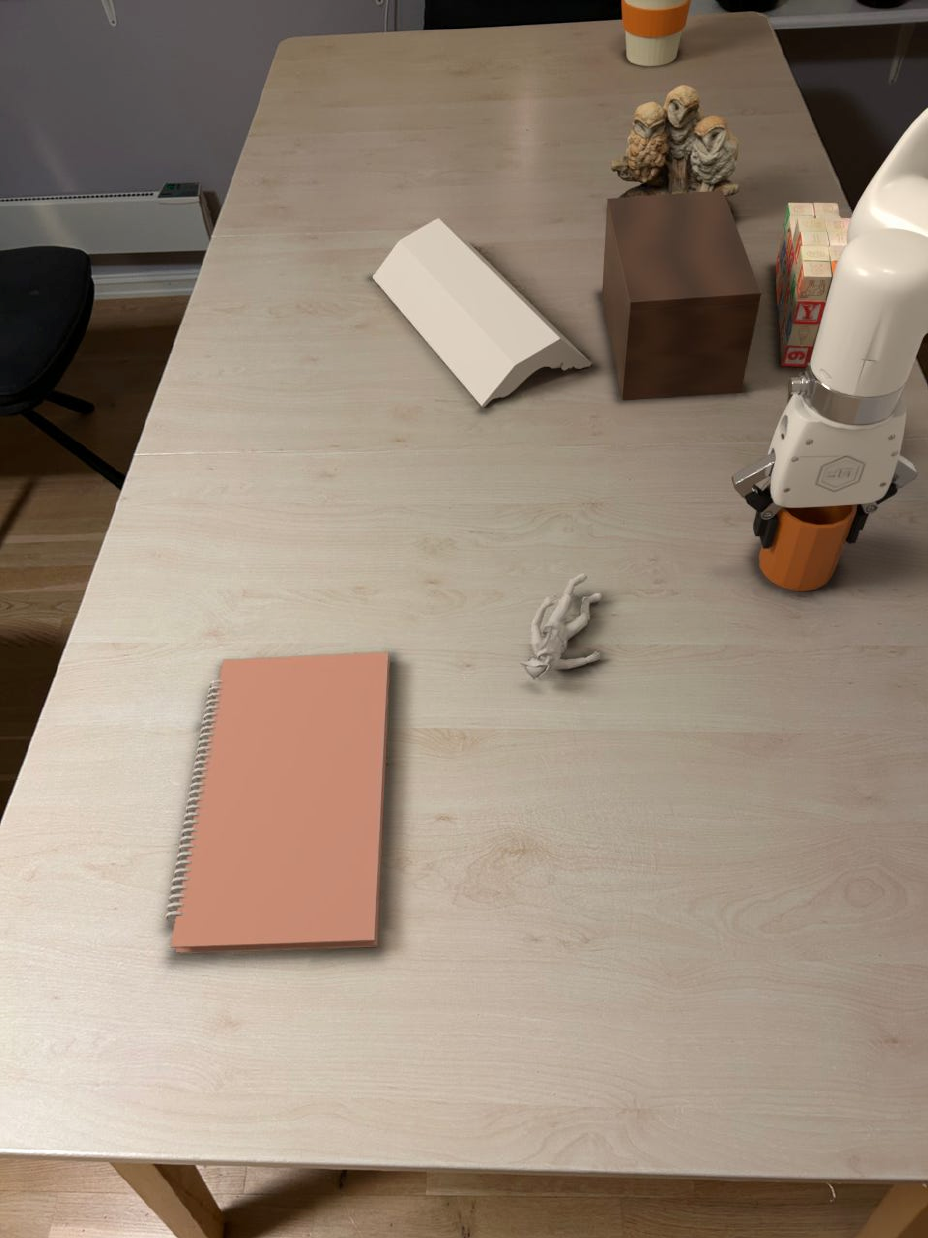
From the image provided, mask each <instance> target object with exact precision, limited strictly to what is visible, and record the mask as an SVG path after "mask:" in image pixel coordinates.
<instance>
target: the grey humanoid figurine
mask: <svg viewBox="0 0 928 1238" xmlns="http://www.w3.org/2000/svg"><path fill="white" fill-rule="evenodd" d="M587 578H588V576H587V574H586V573H583V572H582V573H579V574H578V575H577V576H576V577H574V578H570V579H569V580H568V582H567V586H566V588H565V589H564V591H563V594H562V596H561V598H560V599H559V600H558V604H557V605H556V607H555V608H554V610H553V611H552V614H551V615H550V617H549V618H548V619H549V620H548V621H547V622H546V623H545V625H544V628H543V630H541V626H542V623H543V619H544V617H545V613H546V611H547V609H548V608H550V607H552V606H554V605H555V602H554V601H555V600H556V599H557V596H556V595H555V594H549V595H548V596H547V597H545V599H544V601H543V602H542V603H541V605H540V606H538V609H537V611H536V613H535V614H534V617H533V619H532V621H531V624H530V647H531V649H532V651H533V652H534V657H532V658H531V659H530V660H527V661H519V664H520V665H521V667H523V668H524V670H525V672H526V673H527V674H528V675H529V676H530V677H531V678H532V679H533V681H539V680H540V678H541V676H543V675H544V674H546V672H547V671H548V669H550V670H569V669H573V668H579V667H581V666H585V665H586V664H589V663H593V662H596V661H598V660H599V659H600V658H601V657H602V656H601V653H600V652H598V651H597V650H596V651H594V652H593V653H592V654H590V655H588V656H587V657H577V658H567V659H564V658H561V657H562V654H563V653H564V652H565V651H566V649H567V647H568V641H569V640H570V639H572V638H573V637H574V636H575V635H577V634H578V633H580V631H581V630H582V629H584V628H585V627H586V626H587V625H588V622H589V621H590V619H591V615H590V605H591V604H593V603H596V602H599V601H600V600H601V599H602V598H603V596H602V594H601V592H595V593H593V594H591V595H590V596H587V595H586V596H583V597H582V598H581V605H580V609H579V613H578V616H575V617H574V618H573V619H572V620H570V621H567V617H568V615H569V612H570V610H571V608H572V604H573V598H574V596H573V595H574V590H575V587H576V586H578V585H580V584H582V583H584V582H585V581H586V580H587ZM566 621H567V622H566Z"/></svg>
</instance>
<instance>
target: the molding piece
mask: <svg viewBox="0 0 928 1238" xmlns="http://www.w3.org/2000/svg"><path fill="white" fill-rule="evenodd" d="M372 279H373V280H374V281H375V282H376V284H377V285H378V286H379V287H380V288H381V290H382V291H383V292H384V293H385V294H386V295H387V297H388V298H389V299H390V300H391V302H392V303H393V304H394V305H395V306H396V307H397V308H398V309H399V311H400V312H401V313H402V315H403V316H404V317H405V318H406V319H407V320H408V321H409V323H410V324H411V325H412V326H413V328H415V330H416V331H417V332H418V333H419V334H420V335H421V337H422V338H423V339H424V340H425V342H426V343H427V344H428V345H429V347H431V348H432V349H433V351H434V352H435V353H436V354H437V356H439V358H440V359H441V360H442V361H443V362H444V364H445V365H446V366H447V367H448V369H449V370H450V371H451V372H452V373H453V374H454V376H455V377H456V378H457V379H458V381H460V383H461V384H462V385H463V386H464V387H465V388H466V390H467V392H469V393H470V394H471V395H472V397H473V398H474V399H475V400H476V401H477V403H478V404H479V405H480V406H481V407H482V408H486V406H487V405H488V404H489V403H490V402H491V401H493V400H494V399H499V398H505V397H507V396H509V395H510V394H512V393H513V392H514V391H515V390H516V389H518V388H519V387H520V386H521V385H522V383H524V382H525V380H526V379H528V378H529V377H530V376H531V375H532V374H534V373H535V372H536V371H538V370H539V369H542V368H544V367H549V368H551V369H561V370H563V371H566V370H568V369H570V370H571V369H572V368H573V367H574V368H575V369H577V370H581V369H583V368H587V367H588V368H590V367H591V365H592V364H593V363H592V362H591V361H590V360H589V359H588V358H587V357H586V356H585V355H584V354H583V353H581V351H580V350H579V349H578V348H577V347H575V346H574V344H572V342H570V341H569V339H568V338H566V337H565V336H564V334H562V333H561V331H559V330H558V329H557V328H556V327H555V326H554V324H552V322H550V320H548V319H547V318H546V317H545V316H544V315H543V314H542V313H541V312H540V311H539V310H538V309H537V308H536V307H535V306H534V305H533V304H532V303H531V302H529V300H528V299H527V298H525V297H524V295H522V293H520V291H518V289H516V287H514V286H513V285H512V284H511V282H509V281H508V280H507V278H505V277H504V276H503V275H502V274H501V273H500V272H499V271H498V270H497V269H496V268H495V267H494V266H493V264H491V263H490V262H489V261H488V260H487V259H486V258H485V257H484V256H483V255H482V254H481V253H480V252H479V251H478V250H477V249H476V248H475V247H474V246H472V244H471V243H469V242H468V241H467V240H466V239H464V238H463V237H462V235H459V233H457V232H456V231H455V230H454V229H453V228H451V227H450V226H449V225H448V224H446V223H445V222H444V221H443V220H442V219H441V218H439V217H437V218H435V219H434V220H432V221H430V222H429V223H427V224H425V225H423V226H422V227H420V228H418V229H416V230H415V231H413V232H411V233H410V234H409V233H408V235H406V236H404V237H402V238H401V239H399V240H398V241H397V243H396V244H395V245H394V247H393V248H392V249H391V251H390V252H389V253H388V255H387V256H386V258H385V259H384V261H383V262H382V263H381V264H380V266H379V267H378V268H377V270H376V272H375V273H374V274H373V275H372Z"/></svg>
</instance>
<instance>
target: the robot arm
mask: <svg viewBox="0 0 928 1238" xmlns="http://www.w3.org/2000/svg"><path fill="white" fill-rule="evenodd" d="M927 334H928V107H927V108H926V109H924V111H922V112H921V113H920V114H919V116H918V117H916V119H914V121H913V122H911V124H910V125H909V127H908V128H907V129H906V130H905V131H904V133H903V134H902V136H901V137H900V138H899V139H898V141H897V143H896V144H895V145H894V147H893V148H892V150H891V151H890V152H889V153H888V155H887V157H885V160H884V161H883V162H882V164H881V166H880V167H879V168H878V170H877V171H876V173H875V174H874V176H873V177H872V178H871V180H870V181H869V183H868V185H867V187H866V188H865V190H864V192H863V193H862V194H861V196H860V198H859V200H858V201H857V204H856V206H855V208H854V210H853V212H852V214H851V217H850V222H849V226H848V230H847V245H846V246H845V248H844V249H843V250H842V252H841V254H840V256H839V259H838V262H837V265H836V268H835V272H834V275H833V279H832V283H831V286H830V290H829V294H828V297H827V301H826V305H825V308H824V312H823V316H822V320H821V323H820V327H819V331H818V334H817V338H816V342H815V345H814V349H813V353H812V357H811V360H810V362H808V363H807V366H806V367H805V370H804V372H802V373H803V375H800V374H799V375H800V376H799V375H798V376H797V377H789V378H788V380H787V394H788V393H789V394H793V396H792V397H791V399H790V401H789V403H788V405H787V404H786V407H785V408H784V410H783V412H782V415H781V416H780V419H779V421H778V423H777V426H776V428H775V431H774V434H773V437H772V439H771V442H770V446H769V448H768V452H767V455H765V456H764V457H762V458H760V459H758V460H756V461H755V462H753V463H751V464H750V465H748V466H745V467H744V468H742V469H741V470H739V471H737V472H736V473H734V474H732V476H731V478H730V479H731V483H732V486H733V488H734V490H735V491H736V493H738V494H739V495H740V496H741V498H743V499H744V500H745V502H746V504H747V505H748V506H750V508H752V509H753V510H755V515H754V520H753V523H752V530H753V535H754V537H759V540H760V543H761V547H763V549H769V548H770V547H771V546H772V543H773V539H774V536H775V532H776V529H777V525H778V517H777V515H776V514H777V513H778V512H779V511H780V510H781V509H782V508H783V507H787V508H801V507H821V506H838V505H853V504H858V505H857V510H856V514H855V517H854V520H853V522H852V525H851V528H850V530H849V533H848V536H847V538H846V541H845V544H846V543H847V544H848V545H852V544H853V545H855V544H856V542H857V540H858V537H859V535H860V531H863V530H864V528H865V525H866V523H867V520H868V518H869V516H870V514H874V513H875V512H877V510H878V509H879V506H878V505H880V504H881V503H883V502H885V501H887V500H888V499H890V498H892V497H893V496H895V495H896V494H897V493H898V490H899V489H900V488H901V489H902V488H904V487H905V486H907V485H908V484H909V483H911V482H912V481H914V480H915V479H917V477H918V476H919V474H918V471H917V468H916V467H915V465H914V463H913V462H911V461H910V460H909V459H907V458H906V457H904V456H903V455H901V454H900V453H901V450H902V445H903V440H904V433H905V428H906V423H907V422H906V421H907V420H906V419H907V411H908V410H907V409H908V407H907V403H906V401H905V400H904V398H903V397H902V395H903V392H904V390H905V386H906V384H907V381H908V379H909V377H910V374H911V371H912V368H913V366H914V363H915V360H916V358H917V355H918V352H919V350H920V348H921V344H922V342H923V340H924V337H925V336H926V335H927ZM769 477H770V478H769ZM767 478H769V480H767V481H766V482H765V483H763V485H762V486H761V487H759V486H758V485H757V484H758V483H760V482H762V481H763V480H765V479H767Z"/></svg>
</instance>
